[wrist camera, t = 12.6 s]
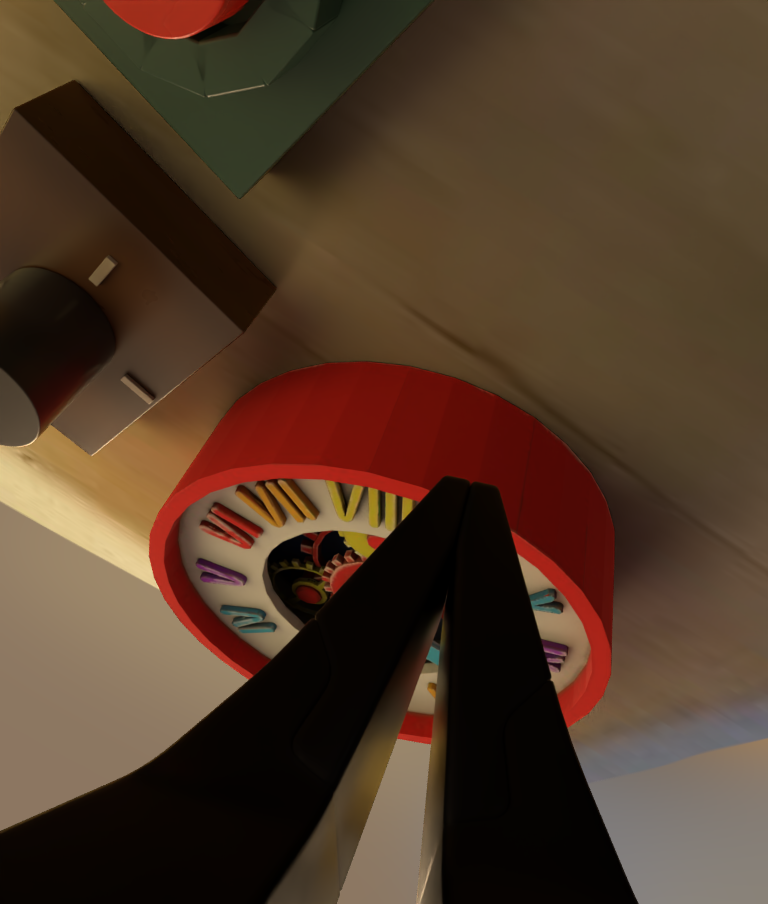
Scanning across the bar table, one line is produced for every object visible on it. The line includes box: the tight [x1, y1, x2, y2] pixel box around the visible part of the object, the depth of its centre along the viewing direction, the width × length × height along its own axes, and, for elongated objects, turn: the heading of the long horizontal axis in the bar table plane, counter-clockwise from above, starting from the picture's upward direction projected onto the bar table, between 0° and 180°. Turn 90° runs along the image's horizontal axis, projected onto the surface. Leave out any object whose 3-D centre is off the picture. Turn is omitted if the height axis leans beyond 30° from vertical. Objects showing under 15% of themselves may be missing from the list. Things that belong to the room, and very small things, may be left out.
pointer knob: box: [0, 268, 115, 447], centre depth 23 cm, size 4×4×5 cm
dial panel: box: [0, 80, 276, 456], centre depth 25 cm, size 12×9×3 cm
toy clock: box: [149, 361, 615, 744], centre depth 30 cm, size 20×6×20 cm
